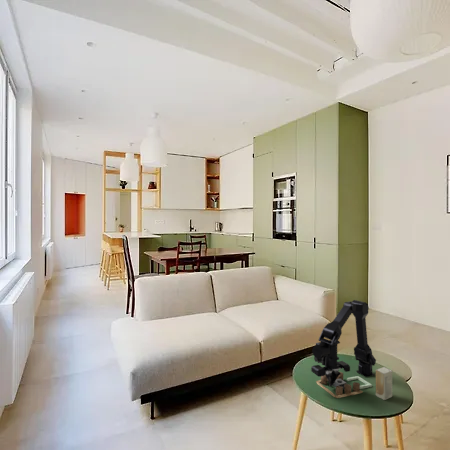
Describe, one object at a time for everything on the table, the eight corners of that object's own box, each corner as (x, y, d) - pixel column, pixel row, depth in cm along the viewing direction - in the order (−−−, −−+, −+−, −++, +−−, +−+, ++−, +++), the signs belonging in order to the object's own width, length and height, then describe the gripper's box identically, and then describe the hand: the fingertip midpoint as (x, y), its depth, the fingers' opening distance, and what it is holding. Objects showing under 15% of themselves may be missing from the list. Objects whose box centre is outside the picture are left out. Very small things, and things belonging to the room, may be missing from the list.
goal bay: (357, 377, 154) (357, 376, 154) (371, 386, 146) (371, 384, 146) (347, 380, 152) (347, 378, 152) (360, 389, 143) (360, 386, 143)
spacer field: (340, 377, 154) (340, 370, 154) (362, 392, 140) (362, 385, 140) (315, 382, 149) (315, 375, 149) (335, 398, 135) (336, 390, 135)
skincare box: (383, 392, 141) (384, 366, 141) (392, 397, 137) (392, 370, 137) (375, 395, 138) (375, 369, 138) (383, 400, 134) (383, 373, 134)
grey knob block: (339, 384, 148) (339, 377, 148) (346, 389, 144) (346, 382, 144) (332, 386, 146) (332, 379, 146) (339, 390, 142) (339, 383, 142)
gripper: (335, 345, 154) (335, 375, 154) (304, 349, 148) (304, 381, 148) (351, 353, 144) (350, 386, 143) (318, 358, 137) (318, 392, 137)
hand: (330, 386), depth 143 cm, fingers closed
